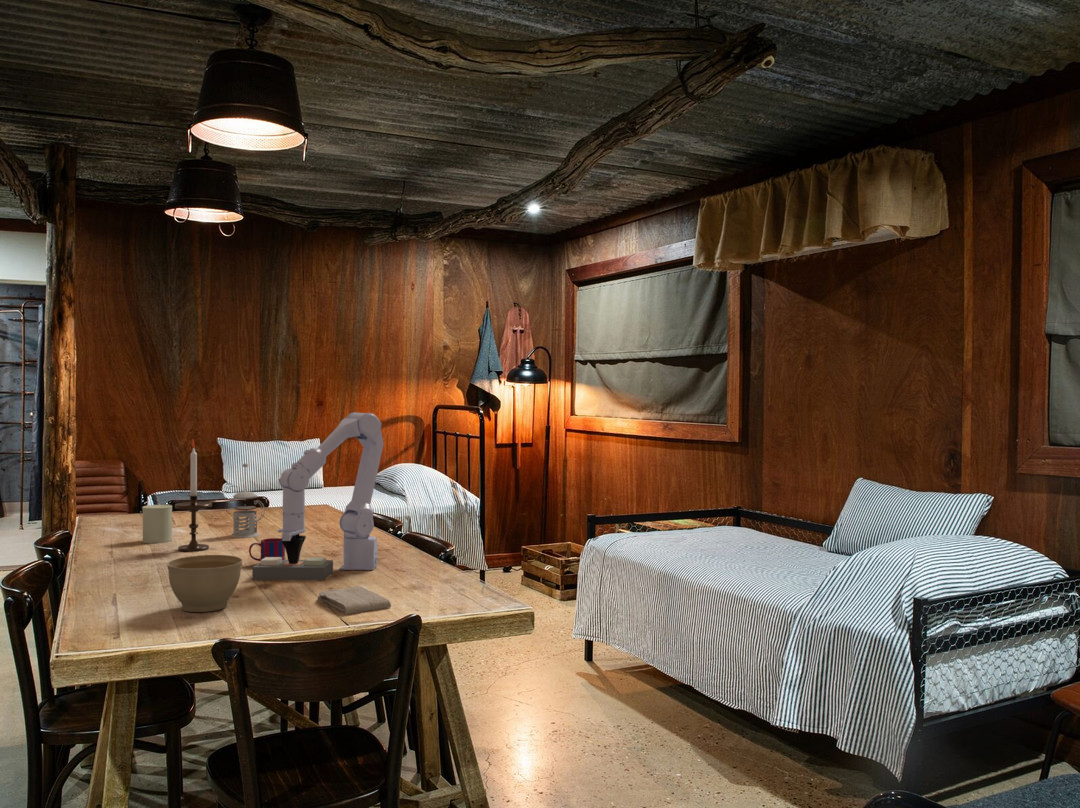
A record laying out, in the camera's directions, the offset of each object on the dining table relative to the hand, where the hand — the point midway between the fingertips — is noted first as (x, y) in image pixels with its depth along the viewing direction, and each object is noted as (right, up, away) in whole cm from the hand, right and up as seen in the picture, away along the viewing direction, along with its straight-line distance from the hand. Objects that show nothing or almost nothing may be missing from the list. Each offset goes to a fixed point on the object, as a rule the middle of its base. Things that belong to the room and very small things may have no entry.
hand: (293, 563), depth 236 cm
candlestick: (-43, -3, +39) cm, 58 cm away
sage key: (+6, -1, 0) cm, 6 cm away
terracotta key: (0, -2, 0) cm, 2 cm away
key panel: (0, -4, 0) cm, 3 cm away
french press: (-35, -3, +66) cm, 75 cm away
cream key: (-6, -1, 0) cm, 6 cm away
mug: (-13, -4, +17) cm, 21 cm away
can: (-61, -3, +54) cm, 81 cm away
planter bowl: (-10, -4, -35) cm, 37 cm away
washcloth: (+23, -5, -30) cm, 38 cm away
